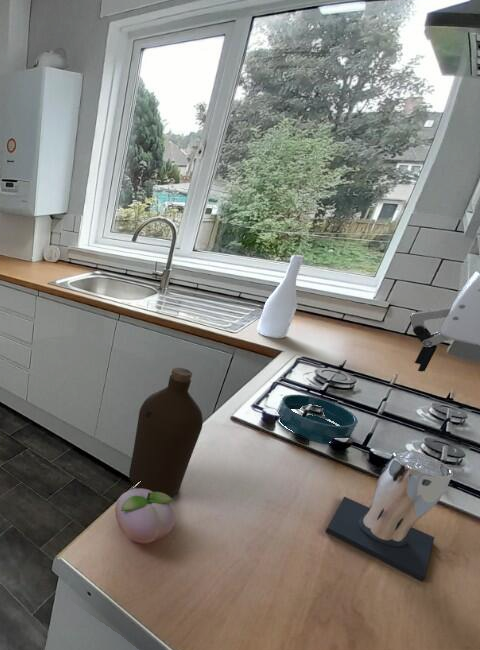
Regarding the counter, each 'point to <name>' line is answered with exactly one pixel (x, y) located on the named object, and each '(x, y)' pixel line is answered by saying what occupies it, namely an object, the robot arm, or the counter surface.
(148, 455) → the olive oil
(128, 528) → the decorative fruit
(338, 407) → the pan
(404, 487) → the beer glass
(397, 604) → the counter surface
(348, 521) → the mat
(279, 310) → the wine bottle
